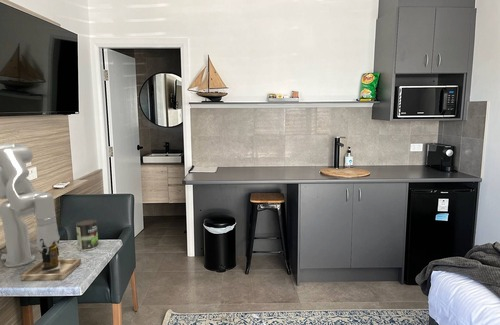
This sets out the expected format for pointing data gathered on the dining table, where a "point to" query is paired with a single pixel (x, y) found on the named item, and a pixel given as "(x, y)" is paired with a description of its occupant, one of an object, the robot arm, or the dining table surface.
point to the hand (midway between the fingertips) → (51, 258)
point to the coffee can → (87, 235)
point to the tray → (57, 274)
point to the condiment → (53, 257)
